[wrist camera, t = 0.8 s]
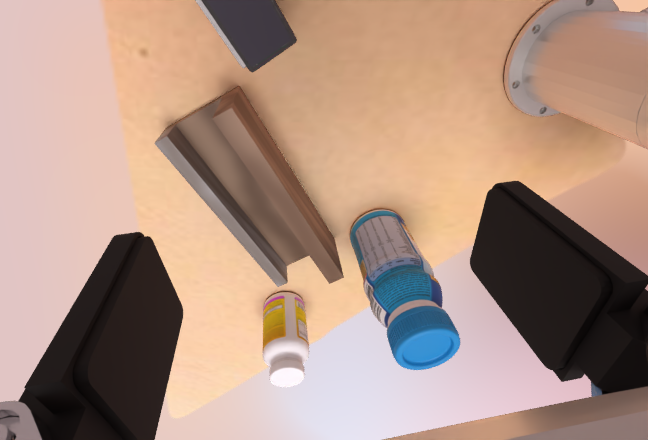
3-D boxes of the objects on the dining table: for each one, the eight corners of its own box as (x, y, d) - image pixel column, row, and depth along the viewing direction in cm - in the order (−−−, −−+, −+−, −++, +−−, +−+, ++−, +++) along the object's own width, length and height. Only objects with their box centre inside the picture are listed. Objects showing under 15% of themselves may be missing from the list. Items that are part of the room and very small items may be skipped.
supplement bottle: (258, 314, 56) (255, 389, 45) (270, 286, 53) (270, 360, 42) (296, 320, 58) (301, 393, 47) (310, 294, 55) (318, 366, 44)
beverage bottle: (371, 197, 45) (427, 313, 29) (416, 221, 49) (488, 337, 32) (337, 240, 49) (368, 365, 33) (380, 260, 52) (429, 383, 36)
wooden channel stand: (239, 86, 35) (231, 107, 29) (334, 238, 49) (343, 277, 42) (166, 128, 37) (143, 157, 30) (277, 265, 50) (278, 306, 44)
